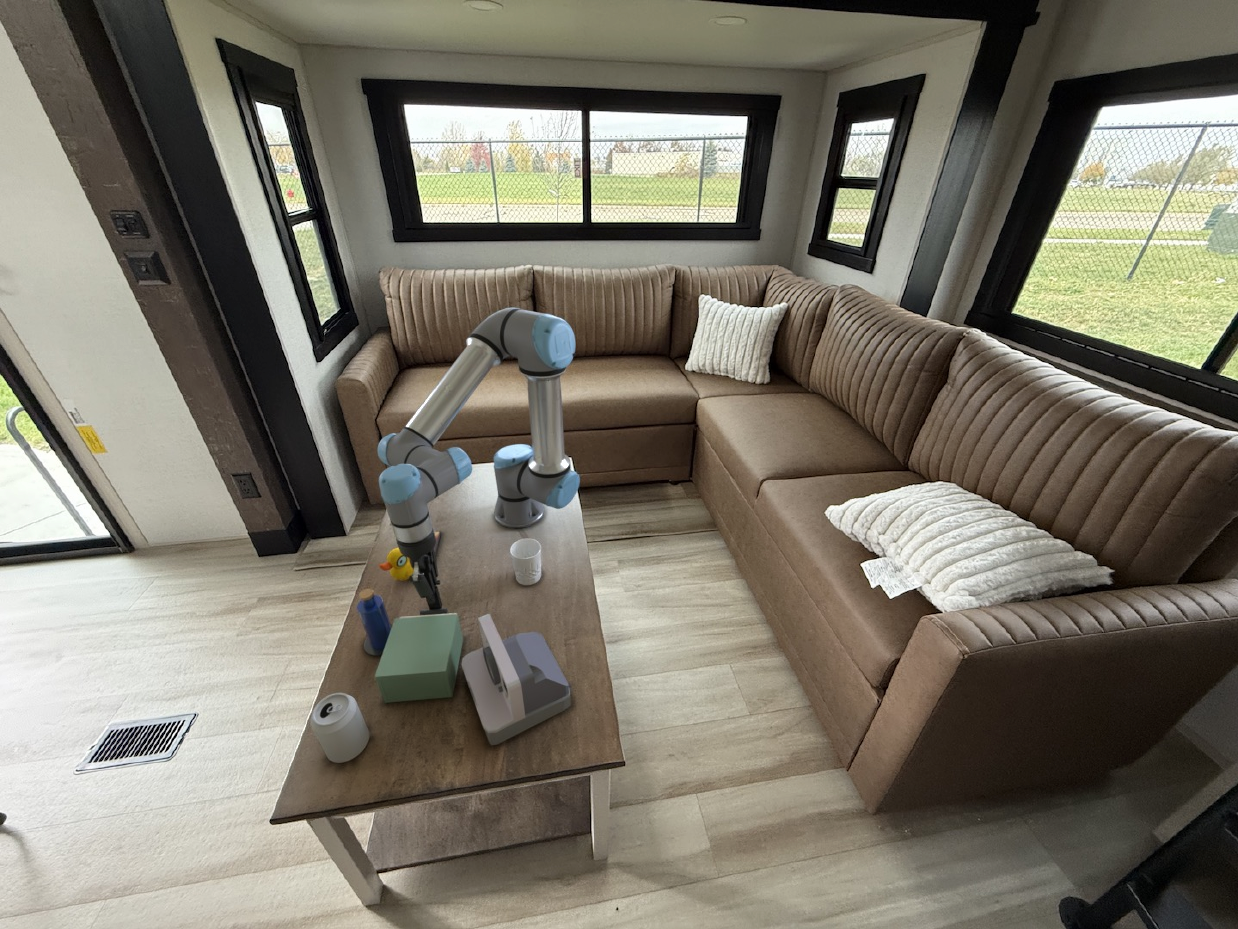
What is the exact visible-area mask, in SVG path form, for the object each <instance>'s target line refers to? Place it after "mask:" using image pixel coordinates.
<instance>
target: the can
mask: <svg viewBox="0 0 1238 929" xmlns="http://www.w3.org/2000/svg"><path fill="white" fill-rule="evenodd" d="M309 721H310V722H309V724H310V728H311V730H312V733H314V735H315V737H316V739H317V741H318V743H319V744H320V746H321V748H322V750H323V752H324V754H325V756H326V757H327V759H328V760H329V761H331V762H332V763H335V764H336V763H338V764H342V763H345V762H346V763H347V762H349V761H351V760H353V759H354V758H355V759H356V757H358V756H359V755H360V754H361V753H362V752H363V751H364V749H365V748H366V746H367V745H368V743H369V739H370V731H369V728H368V725H367V724H366V721H365V719H364V716H363V714H362V712H361V710H360V707H359V704H358V702H357V700H356V699H355V698H354V697H353V696H351V695H349V694H347V693H345V692H336V693H332V694H329V695H326V696H325V697H324V698H322V699H320V700H319V701H318V703H316V705H315V706H314V708H313V710H312V713H311V717H310V720H309Z"/></svg>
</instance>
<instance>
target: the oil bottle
mask: <svg viewBox="0 0 1238 929" xmlns="http://www.w3.org/2000/svg"><path fill="white" fill-rule="evenodd" d="M358 598H359V599H360V601H359V602H358V603H357V605H356V610H357V613H358V616H359V618H360V622H361V624H362V627H363V630H364V633H365V635H366V638H367V637H368V640H369V643H370V645H371V647H372V648H373V649H377V650H379V649H384V648H385V645H386V643H387V640H388V637H389V634H390V631H391V628H392V627H391V626H392V623H391V620H390V617H389V614H388V611H387V609H386V606H385V603H384V600H383V598H382V596H380V595H377V594H375V592H374V590H373V589H372V588H366V589H363V590H361V591H360V592H359V594H358Z"/></svg>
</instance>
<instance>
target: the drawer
mask: <svg viewBox="0 0 1238 929" xmlns="http://www.w3.org/2000/svg"><path fill="white" fill-rule="evenodd" d="M448 612H449V611H448V608H447V607H445V608H443V607H442V609H429V608H428V609H427V608H426V609H420V610H419V615H408V616H407V615H406V616H400V617H399V618H409V617H424V616H438V615H452V614H458V613H457V612H451V613H450V612H449V613H448Z"/></svg>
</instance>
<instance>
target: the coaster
mask: <svg viewBox="0 0 1238 929" xmlns="http://www.w3.org/2000/svg"><path fill="white" fill-rule="evenodd" d="M391 627H392V625H391ZM363 650H364V652H365V654H367V655H369V656H372V657H380V656H381V657H382V654H383V651H384V649H379V650H377V649H373V648H372V647H371V645H370V643H369V640H368V637H367V636H366V638H365V640H364V643H363Z"/></svg>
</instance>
